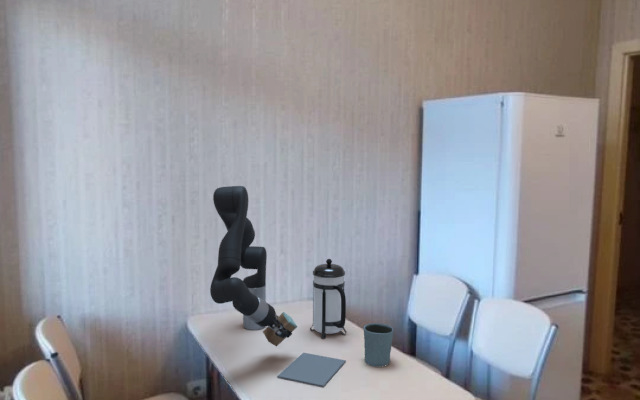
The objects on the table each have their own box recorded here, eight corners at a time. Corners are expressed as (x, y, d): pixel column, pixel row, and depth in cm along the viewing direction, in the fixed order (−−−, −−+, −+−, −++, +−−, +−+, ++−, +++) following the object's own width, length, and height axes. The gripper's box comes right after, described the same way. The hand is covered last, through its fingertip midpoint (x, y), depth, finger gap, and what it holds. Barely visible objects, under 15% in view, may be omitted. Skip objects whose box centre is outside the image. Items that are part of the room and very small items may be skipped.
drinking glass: (357, 358, 174) (358, 325, 173) (383, 353, 178) (383, 321, 177) (372, 370, 165) (372, 335, 164) (398, 365, 169) (399, 331, 168)
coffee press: (302, 337, 193) (302, 261, 190) (317, 323, 208) (318, 253, 205) (344, 344, 186) (345, 266, 183) (357, 330, 201) (358, 257, 198)
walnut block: (262, 331, 172) (283, 311, 173) (270, 336, 176) (291, 317, 176) (268, 341, 169) (289, 321, 169) (276, 346, 172) (297, 326, 172)
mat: (303, 354, 177) (303, 352, 177) (345, 362, 171) (345, 360, 171) (277, 377, 159) (277, 375, 159) (323, 387, 153) (323, 385, 152)
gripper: (276, 317, 157) (303, 336, 169) (258, 289, 168) (285, 309, 179) (258, 334, 157) (287, 351, 169) (242, 304, 168) (270, 323, 179)
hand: (286, 329), depth 174 cm, fingers closed on walnut block, 5 cm apart
